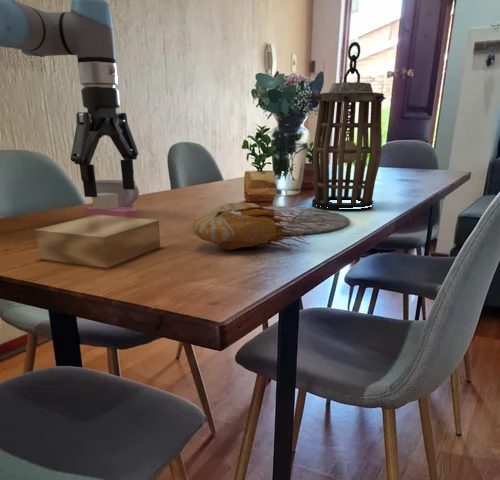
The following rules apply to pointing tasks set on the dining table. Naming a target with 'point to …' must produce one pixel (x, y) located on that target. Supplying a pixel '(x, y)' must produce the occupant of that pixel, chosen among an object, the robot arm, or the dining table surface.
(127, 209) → the pink-and-white stacked brick
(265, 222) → the nautilus
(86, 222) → the block
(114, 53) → the robot arm
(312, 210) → the grey-brown round placemat
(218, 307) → the dining table surface
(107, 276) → the dining table surface
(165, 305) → the dining table surface
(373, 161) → the lantern
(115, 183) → the teacup
